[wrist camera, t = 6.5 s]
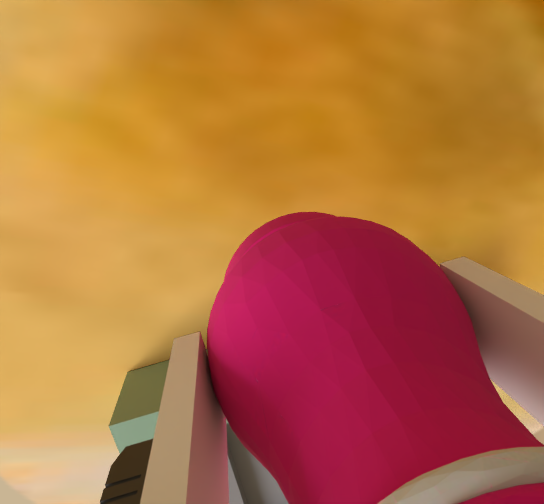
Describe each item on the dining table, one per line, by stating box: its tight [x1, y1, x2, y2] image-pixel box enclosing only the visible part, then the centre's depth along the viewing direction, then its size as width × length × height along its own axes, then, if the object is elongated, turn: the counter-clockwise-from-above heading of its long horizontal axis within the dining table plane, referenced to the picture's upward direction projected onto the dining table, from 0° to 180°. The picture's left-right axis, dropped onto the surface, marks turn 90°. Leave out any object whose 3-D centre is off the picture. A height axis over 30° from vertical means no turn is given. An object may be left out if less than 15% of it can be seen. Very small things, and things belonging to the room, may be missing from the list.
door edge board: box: [109, 349, 228, 454], centre depth 29 cm, size 22×2×6 cm, turn 104°
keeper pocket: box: [226, 423, 289, 504], centre depth 33 cm, size 12×12×2 cm
